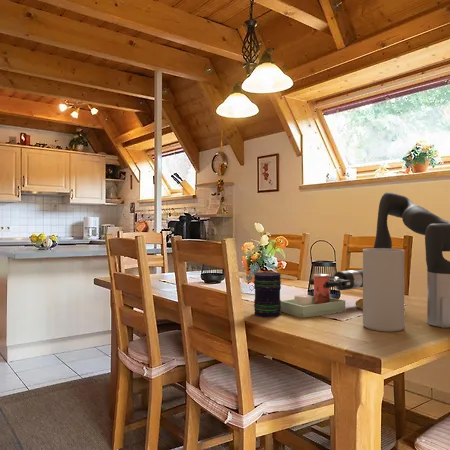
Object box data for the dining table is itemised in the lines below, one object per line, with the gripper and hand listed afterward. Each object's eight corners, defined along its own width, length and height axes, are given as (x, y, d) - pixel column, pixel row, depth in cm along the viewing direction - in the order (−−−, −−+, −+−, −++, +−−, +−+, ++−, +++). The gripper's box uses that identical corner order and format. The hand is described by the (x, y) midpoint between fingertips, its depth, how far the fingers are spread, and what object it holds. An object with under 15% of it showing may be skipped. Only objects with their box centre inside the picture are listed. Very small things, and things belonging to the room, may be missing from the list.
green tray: (320, 305, 174) (320, 295, 174) (345, 311, 163) (345, 300, 163) (279, 311, 163) (279, 300, 163) (303, 318, 152) (303, 306, 152)
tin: (332, 307, 163) (332, 275, 163) (316, 307, 162) (316, 275, 162) (326, 304, 169) (326, 273, 169) (311, 304, 168) (311, 273, 168)
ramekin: (315, 308, 160) (315, 296, 160) (303, 310, 156) (302, 298, 156) (304, 306, 165) (303, 294, 165) (291, 308, 162) (290, 296, 162)
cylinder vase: (371, 320, 148) (371, 247, 147) (409, 326, 140) (409, 249, 139) (356, 328, 138) (356, 250, 138) (396, 334, 130) (396, 251, 130)
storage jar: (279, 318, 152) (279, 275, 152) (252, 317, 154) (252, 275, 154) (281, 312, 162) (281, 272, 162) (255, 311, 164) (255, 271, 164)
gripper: (334, 268, 179) (305, 271, 170) (361, 272, 167) (331, 275, 158) (334, 287, 179) (305, 290, 170) (361, 291, 167) (331, 295, 158)
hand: (317, 283), depth 164 cm, fingers open, 8 cm apart
